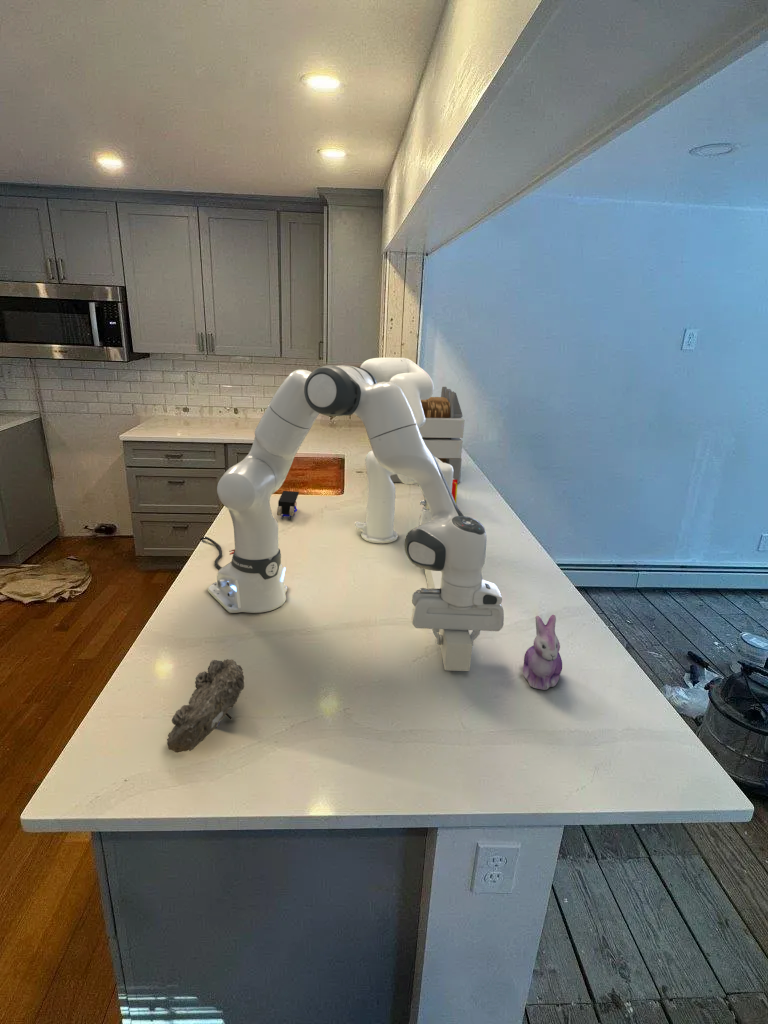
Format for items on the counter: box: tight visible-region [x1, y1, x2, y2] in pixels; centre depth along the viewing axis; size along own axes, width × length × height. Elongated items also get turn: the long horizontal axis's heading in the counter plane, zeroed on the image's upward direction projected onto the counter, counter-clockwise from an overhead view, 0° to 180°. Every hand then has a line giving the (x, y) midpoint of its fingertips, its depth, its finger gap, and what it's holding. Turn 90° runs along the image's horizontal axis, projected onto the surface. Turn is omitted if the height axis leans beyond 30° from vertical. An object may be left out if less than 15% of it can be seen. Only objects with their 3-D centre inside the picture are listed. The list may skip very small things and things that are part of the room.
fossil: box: [166, 658, 245, 754], centre depth 106 cm, size 22×10×15 cm
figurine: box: [522, 614, 563, 691], centre depth 121 cm, size 9×10×15 cm
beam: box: [424, 569, 473, 672], centre depth 150 cm, size 60×5×7 cm, turn 1°
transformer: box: [390, 386, 465, 484], centre depth 268 cm, size 34×33×41 cm
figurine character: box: [276, 490, 300, 521], centre depth 211 cm, size 7×8×15 cm
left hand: (454, 644), depth 128 cm, fingers closed on beam, 5 cm apart
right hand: (432, 559), depth 173 cm, fingers closed on beam, 5 cm apart
